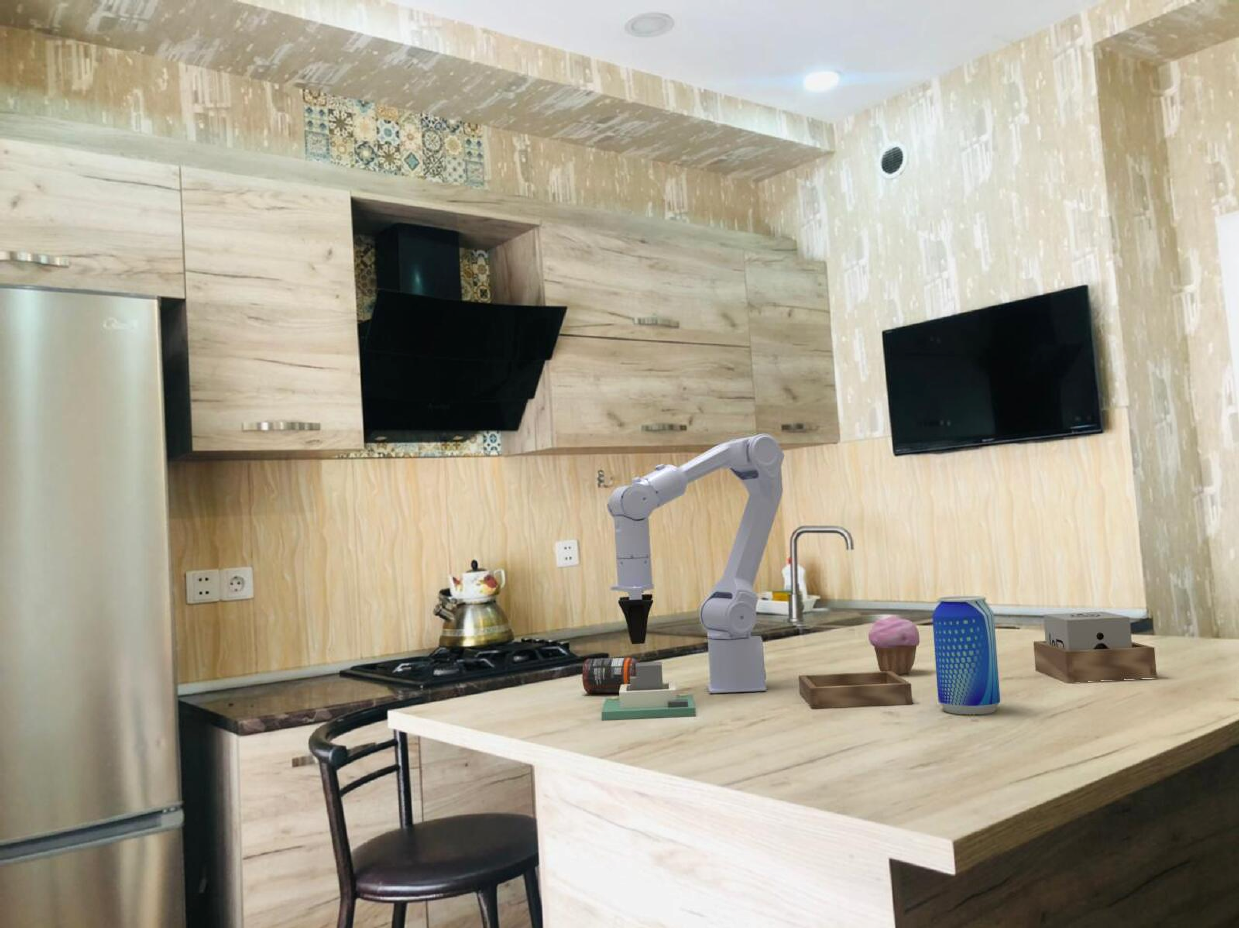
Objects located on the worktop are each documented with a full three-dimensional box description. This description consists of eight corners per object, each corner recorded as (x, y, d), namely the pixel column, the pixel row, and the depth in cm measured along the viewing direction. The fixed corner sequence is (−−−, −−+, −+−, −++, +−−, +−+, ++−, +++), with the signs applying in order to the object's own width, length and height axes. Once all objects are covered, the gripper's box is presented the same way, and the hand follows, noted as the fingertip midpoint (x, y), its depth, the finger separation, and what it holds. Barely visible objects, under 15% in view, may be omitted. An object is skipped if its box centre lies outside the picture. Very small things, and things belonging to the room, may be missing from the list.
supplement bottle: (591, 688, 181) (653, 688, 178) (582, 697, 175) (646, 697, 172) (589, 654, 180) (651, 654, 178) (580, 663, 175) (644, 662, 172)
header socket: (675, 697, 162) (674, 682, 162) (676, 706, 154) (675, 690, 154) (621, 699, 162) (621, 684, 162) (620, 708, 154) (619, 692, 154)
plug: (663, 699, 160) (661, 661, 160) (663, 704, 156) (661, 665, 156) (632, 701, 160) (630, 662, 160) (631, 706, 156) (629, 666, 156)
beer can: (1010, 707, 145) (1002, 595, 146) (986, 718, 139) (977, 600, 140) (954, 703, 151) (946, 595, 152) (928, 712, 145) (920, 600, 146)
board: (692, 701, 164) (692, 689, 164) (695, 716, 152) (694, 702, 152) (606, 705, 164) (605, 693, 164) (601, 720, 152) (601, 706, 152)
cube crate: (1117, 666, 176) (1115, 637, 176) (1157, 679, 162) (1154, 647, 162) (1035, 670, 176) (1033, 641, 177) (1067, 683, 162) (1065, 651, 163)
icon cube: (1047, 673, 173) (1043, 614, 174) (1107, 670, 173) (1102, 611, 174) (1071, 682, 164) (1066, 620, 164) (1134, 679, 163) (1129, 617, 164)
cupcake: (862, 672, 185) (859, 616, 185) (905, 668, 187) (902, 613, 187) (887, 679, 176) (883, 620, 176) (931, 674, 178) (927, 617, 179)
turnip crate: (892, 689, 165) (891, 671, 165) (912, 704, 152) (911, 683, 152) (799, 694, 165) (798, 675, 166) (811, 708, 153) (810, 688, 153)
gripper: (610, 557, 175) (614, 637, 174) (607, 561, 160) (612, 647, 160) (651, 555, 175) (656, 634, 174) (652, 558, 160) (657, 645, 160)
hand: (638, 641), depth 167 cm, fingers open, 7 cm apart
